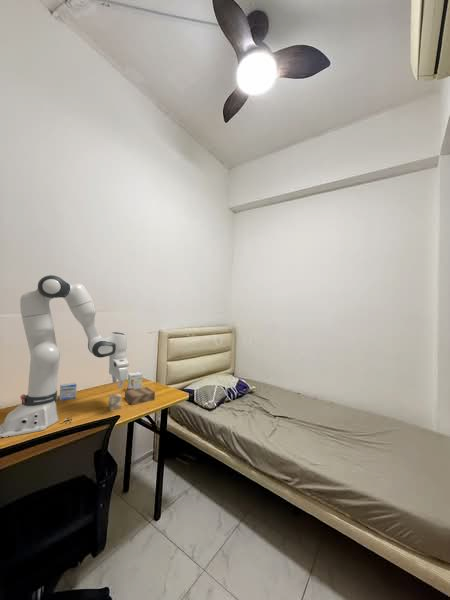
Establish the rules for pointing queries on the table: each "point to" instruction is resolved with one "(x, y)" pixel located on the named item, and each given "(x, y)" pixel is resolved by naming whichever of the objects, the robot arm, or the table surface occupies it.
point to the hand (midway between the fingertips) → (117, 385)
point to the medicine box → (67, 391)
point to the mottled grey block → (115, 402)
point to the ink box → (134, 381)
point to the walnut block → (139, 395)
